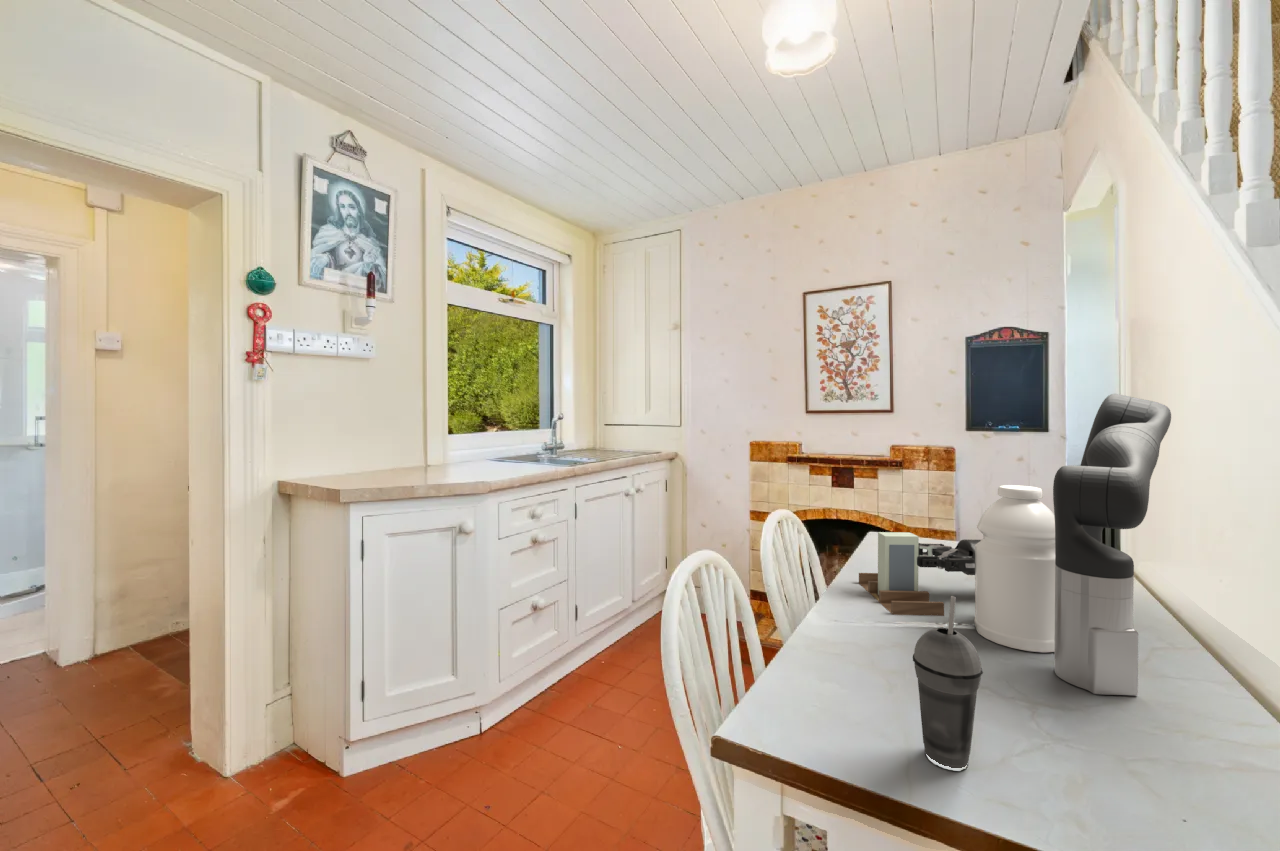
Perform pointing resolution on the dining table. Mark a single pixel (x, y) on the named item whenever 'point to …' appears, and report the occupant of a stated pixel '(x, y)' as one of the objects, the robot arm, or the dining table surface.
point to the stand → (901, 598)
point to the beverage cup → (947, 692)
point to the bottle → (1016, 571)
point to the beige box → (897, 561)
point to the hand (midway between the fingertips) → (909, 556)
